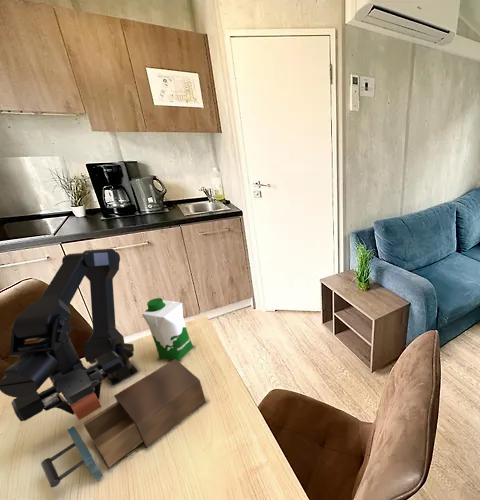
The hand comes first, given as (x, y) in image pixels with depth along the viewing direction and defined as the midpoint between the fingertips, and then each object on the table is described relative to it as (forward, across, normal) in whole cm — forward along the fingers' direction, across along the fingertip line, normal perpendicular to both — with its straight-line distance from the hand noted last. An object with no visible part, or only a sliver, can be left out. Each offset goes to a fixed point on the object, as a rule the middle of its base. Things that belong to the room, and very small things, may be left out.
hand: (85, 406), depth 71 cm
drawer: (+4, 0, -13) cm, 14 cm away
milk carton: (+5, +24, +6) cm, 25 cm away
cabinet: (+5, +12, -13) cm, 18 cm away
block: (+1, 0, 0) cm, 1 cm away
